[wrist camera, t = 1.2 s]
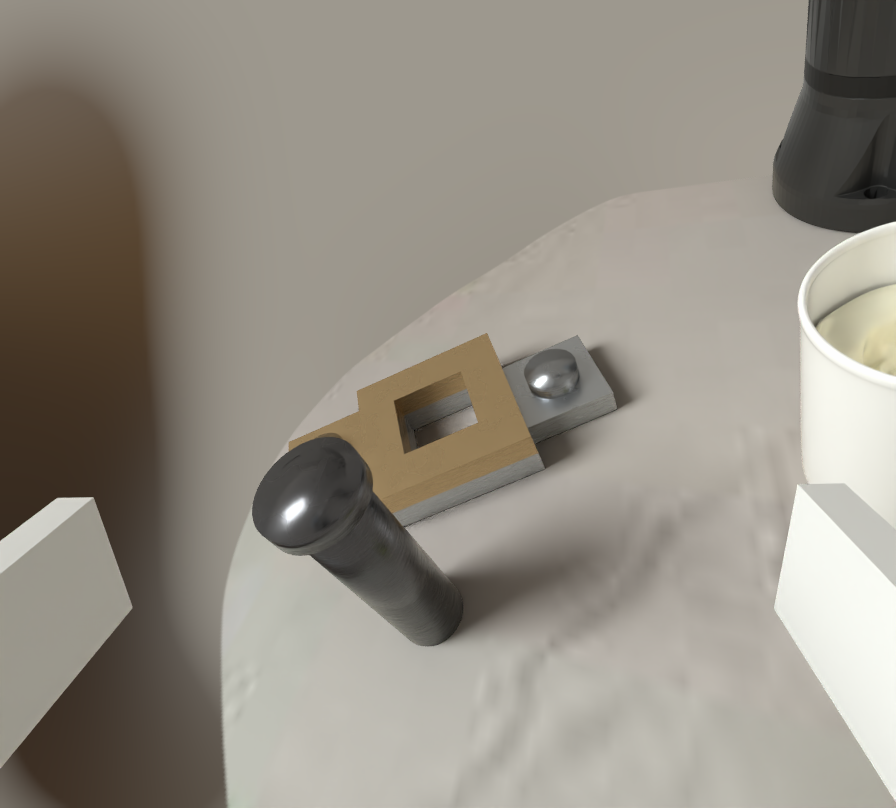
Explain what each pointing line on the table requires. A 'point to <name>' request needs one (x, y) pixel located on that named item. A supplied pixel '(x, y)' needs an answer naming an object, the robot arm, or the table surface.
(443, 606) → the black pin
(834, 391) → the candle holder
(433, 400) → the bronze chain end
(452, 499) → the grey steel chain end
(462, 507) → the table surface
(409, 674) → the table surface
